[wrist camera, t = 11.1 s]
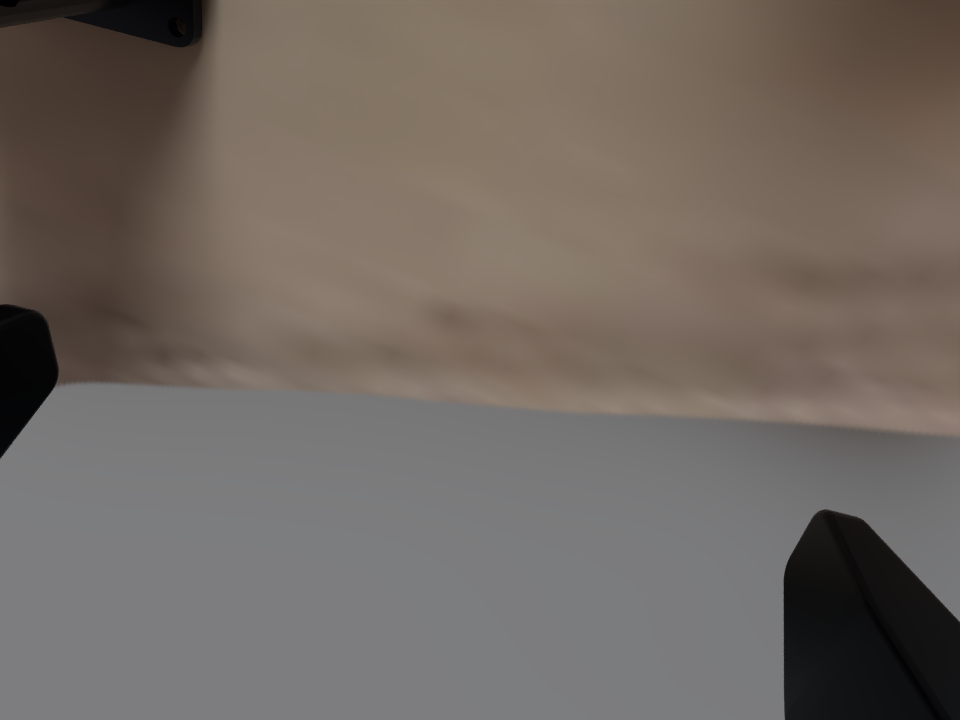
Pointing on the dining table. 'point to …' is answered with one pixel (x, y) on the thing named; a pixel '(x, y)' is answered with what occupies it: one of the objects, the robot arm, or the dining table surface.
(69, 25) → the dining table surface
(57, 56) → the dining table surface
